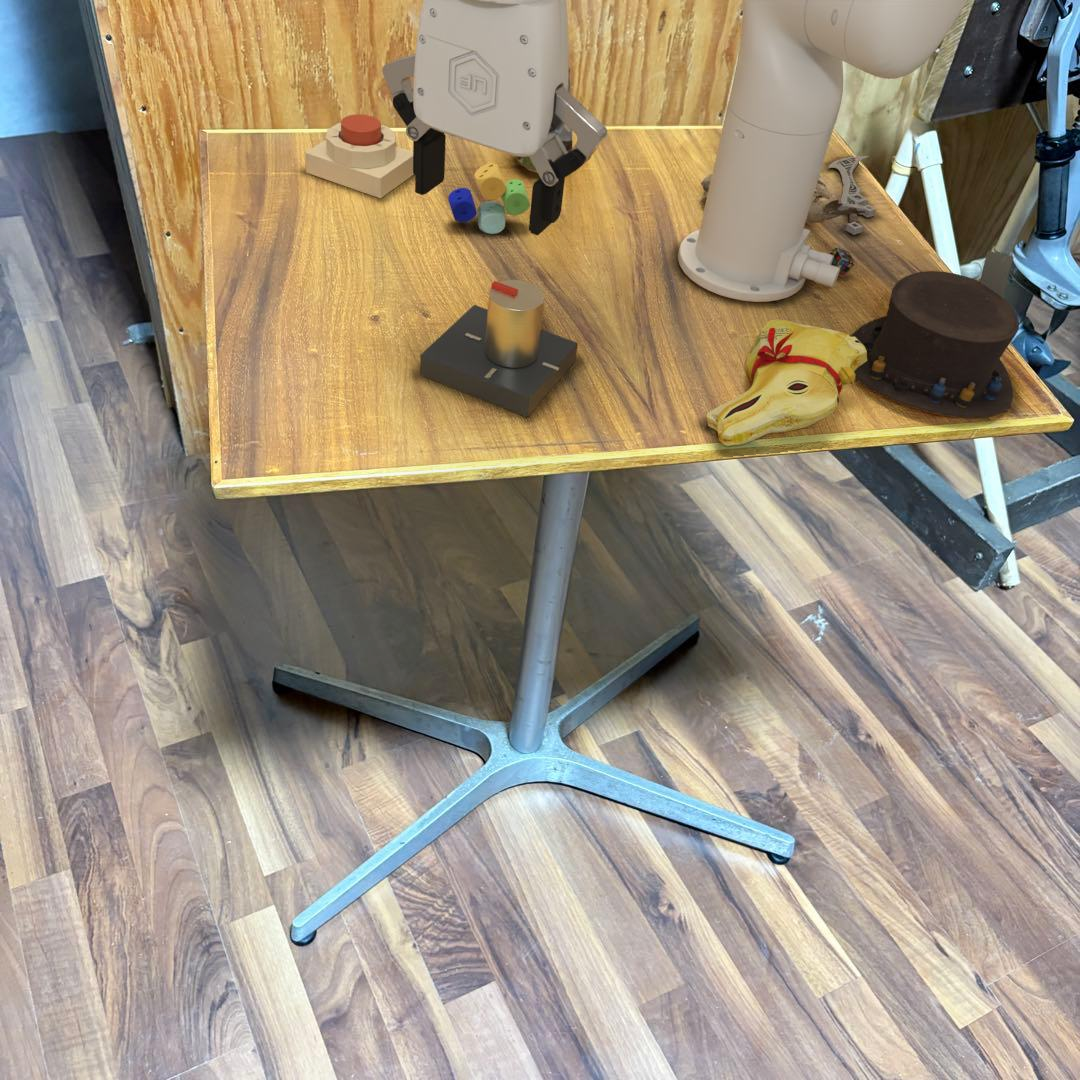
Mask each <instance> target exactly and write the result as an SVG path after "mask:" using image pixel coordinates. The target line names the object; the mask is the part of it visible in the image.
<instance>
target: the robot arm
mask: <svg viewBox="0 0 1080 1080" xmlns="http://www.w3.org/2000/svg"><path fill="white" fill-rule="evenodd" d="M968 1H969V0H742V15H741V17H742V18H741V19H742V20H741V32H740V41H739V47H738V54H737V61H736V65H735V70H734V75H733V80H732V85H731V89H730V95H729V97H728V101H727V106H726V111H725V115H724V118H723V124H722V129H721V132H720V136H719V137H720V138H719V142H718V147H717V151H716V154H715V159H714V164H713V169H712V173H711V174H712V177H711V182H710V186H709V191H708V195H707V198H706V200H705V205H704V209H703V213H702V218H701V223H700V226H699V228H698V229H696V230H695V231H693V232H690V233H689V234H687V235H686V236H685V237H684V238H683V239H682V241H681V242H680V245H679V249H678V253H677V261H678V265H679V267H680V268H681V270H682V272H683V273H684V274H685V275H686V276H687V277H688V278H689V279H690V280H691V281H692V282H694V283H695V284H696V285H698V286H699V287H701V288H703V289H705V290H707V291H709V292H711V293H713V294H715V295H718V296H721V297H725V298H728V299H732V300H736V301H742V302H751V303H752V302H754V303H768V302H776V301H780V300H783V299H786V298H790V297H791V296H793V295H795V294H797V293H798V292H799V291H800V290H801V289H802V288H803V287H804V284H805V283H806V279H808V280H810V281H813V282H814V283H816V284H819V285H822V286H826V287H828V288H832V289H833V288H834V286H835V285H836V282H837V279H838V278H839V272H840V268H839V267H836V266H833V265H831V264H832V261H833V258H834V255H831V254H830V253H827V252H824V251H819V250H816V249H813V248H812V245H810V244H807V243H808V239H809V237H810V234H811V230H810V229H807V228H805V225H806V223H807V222H806V219H807V216H808V212H809V209H810V206H811V202H812V199H813V195H814V192H815V191H816V190H817V186H818V184H817V182H818V180H819V179H820V176H821V173H822V172H821V171H822V170H823V165H824V162H825V158H826V155H827V152H828V148H829V145H830V141H831V139H832V136H833V131H834V128H835V126H836V123H837V119H838V117H839V113H840V109H841V106H842V105H841V104H842V99H843V94H844V66H843V62H844V63H846V64H848V65H850V66H852V67H854V68H856V69H858V70H860V71H862V72H864V73H866V74H869V75H871V76H874V77H877V78H879V79H880V78H881V79H886V80H893V79H894V80H895V79H900V78H903V77H906V76H908V75H910V74H912V73H914V72H915V71H916V70H918V69H919V68H920V67H922V65H924V64H925V63H926V62H927V61H928V60H929V59H930V58H931V56H933V54H934V53H935V52H936V50H937V49H938V48H939V46H940V45H941V44H942V43H943V41H944V40H945V38H946V36H947V35H948V34H949V32H950V30H951V29H952V27H953V25H954V24H955V23H956V20H957V19H958V18H959V16H960V14H961V12H962V11H963V9H964V8H965V6H966V4H967V3H968ZM569 31H570V30H569V14H568V5H567V0H422V5H421V10H420V16H419V21H418V28H417V37H416V46H415V53H412V54H409V55H405V56H402V57H399V58H396V59H393V60H391V61H390V62H388V63H386V64H384V65H383V66H382V69H381V73H382V76H383V78H384V80H385V83H386V86H387V88H388V91H389V93H390V95H392V106H393V108H394V109H395V111H396V113H397V114H398V115H399V117H400V119H401V120H402V121H403V123H404V125H405V126H406V128H405V134H406V136H407V137H408V139H409V140H411V141H412V143H413V144H412V145H413V146H412V151H413V173H414V175H413V176H414V192H415V193H416V194H418V195H420V196H424V195H427V194H428V193H430V191H432V190H434V189H435V188H436V187H438V186H439V185H440V184H441V183H443V182H444V181H445V169H446V143H447V142H446V140H447V139H446V138H447V136H446V135H449V136H452V137H455V138H457V139H461V140H463V141H466V142H469V143H473V144H476V145H478V146H482V147H485V148H488V149H491V150H494V151H497V152H500V153H504V154H507V155H511V156H513V157H517V156H519V157H528V156H529V158H530V160H531V161H532V163H533V165H534V167H535V169H536V171H537V172H538V173H537V172H536V173H537V174H538V176H539V178H537V180H536V181H534V182H533V185H532V189H531V190H532V191H531V201H530V211H529V223H528V231H529V233H530V234H532V235H535V236H539V235H541V233H543V231H545V230H546V229H547V228H549V226H550V225H551V224H554V223H555V222H557V221H558V220H559V218H560V216H561V213H562V208H563V198H564V190H565V182H566V181H565V180H566V177H568V176H570V175H571V174H573V173H574V172H576V171H577V170H579V169H580V168H582V166H584V165H585V164H586V163H587V162H588V161H589V160H591V158H592V156H593V154H594V153H595V152H596V151H597V150H598V148H599V147H600V145H601V144H602V143H603V141H604V140H605V139H606V137H607V135H608V130H607V127H606V126H605V125H604V124H603V123H602V122H601V121H600V120H599V119H598V118H597V117H596V116H595V115H593V113H592V112H591V111H590V110H588V109H587V108H586V107H585V106H584V105H583V104H582V103H581V102H580V101H579V100H578V99H577V98H576V97H575V96H574V95H573V94H570V93H569V92H568V73H569V68H570V34H569V33H570V32H569ZM411 77H413V83H412V81H411V80H412V79H411ZM564 123H565V124H566V125H567V126H568V127H569V128H570V129H571V130H572V133H574V134H575V135H576V138H577V139H576V143H575V144H574V145H573V147H572V148H573V149H572V150H571V151H569V152H567V150H566V148H565V146H564V144H563V142H562V140H561V138H560V137H559V134H560V133H561V131H562V129H563V125H564Z"/></svg>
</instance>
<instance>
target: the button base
mask: <svg viewBox="0 0 1080 1080" xmlns="http://www.w3.org/2000/svg"><path fill="white" fill-rule="evenodd" d="M396 143H397V134H396V133H395V132H394V131H393V130H392V129H391V128H390V127H389V126H387V125H383V124H381V142H380V143H378V144H376V145H370V146H354V145H351V144H348V143H345V142H343V141H342V139H341V122H338V123H336V124H334V125H333V126H331V127H329V128H327V131H326V135H325V139H324V140H323V141H321V142H320V143H318V144H317V145H315V146H313V147H312V148H310V149H308V150H306V151H305V152H304V157H305V158H304V159H305V173H306V174H309V175H313V176H315V177H318V178H321V179H323V180H326V181H328V182H331V183H335V184H337V185H341V186H343V187H346V188H349V189H352V190H355V191H357V192H360V193H364V194H366V195H370V196H372V197H375V198H378V199H382V198H383V197H384V196H386V195H388V194H389V193H390V192H391V191H394V189H396V188H397V187H398V186H400V185H402V184H403V183H404V182H406V181H407V180H409V179H410V178H411V177H413V176H415V175H414V173H413V150H409V149H406V148H404V147H400V146H398V145H397V144H396Z"/></svg>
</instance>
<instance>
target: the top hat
mask: <svg viewBox="0 0 1080 1080" xmlns="http://www.w3.org/2000/svg"><path fill="white" fill-rule="evenodd" d="M1013 260H1014V256H1013V255H1009V254H1006V255H1005V254H1003V253H999V252H996V251H991V250H987V253H986V256H985V260H984V263H983V266H982V270H981V274H980V280H977V279H975V278H971V277H969V276H965V275H962V274H959V273H953V272H948V271H940V270H939V271H938V270H927V271H918V272H914V273H910V274H908V275H905V276H904V277H902V278H901V279H899V280H898V281H897V282H896V283H895V284H894V286H893V287H892V289H891V294H890V297H889V298H890V299H889V302H888V307H887V311H886V315H885V316H881V317H879V318H875V319H872V320H870V321H869V322H866V323H865V324H862V325H861V326H860V327H859V328H857V329H856V330H855V331H853V333H852V334H851V335H852V336H855V337H856V338H857V339H858V340H859V341H860V342H861V343H862V344H863V345H864V346H865V348H866V351H867V361H866V362H865V363H863V364H862V365H861V366H859V367H858V368H857V369H856V370H855V371H854V373H855V375H856V376H855V380H856V381H857V382H859V383H860V384H861V385H862V386H864V387H865V388H867V389H869V390H870V391H872V392H874V393H875V394H877V395H879V396H881V397H884V398H886V399H888V400H890V401H892V402H895V403H898V404H901V405H903V406H907V407H909V408H912V409H916V410H919V411H923V412H927V413H930V414H934V415H939V416H945V417H952V418H960V419H986V418H992V417H995V416H997V415H1001V414H1002V413H1004V412H1006V410H1008V409H1009V408H1010V405H1011V403H1012V401H1013V399H1014V388H1013V384H1012V380H1011V379H1012V378H1011V377H1010V375H1009V372H1008V370H1007V368H1006V367H1005V365H1004V363H1003V362H1002V360H1001V357H1002V356H1003V354H1004V353H1005V351H1006V350H1007V348H1008V347H1009V345H1010V344H1011V342H1012V341H1013V339H1014V338H1015V336H1016V335H1017V333H1018V332H1019V329H1020V320H1019V317H1018V314H1017V312H1016V311H1015V309H1014V307H1013V305H1012V304H1010V302H1009V301H1008V300H1007V299H1006V298H1005V295H1006V288H1007V283H1008V278H1009V274H1010V270H1011V267H1012V264H1013Z"/></svg>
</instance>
